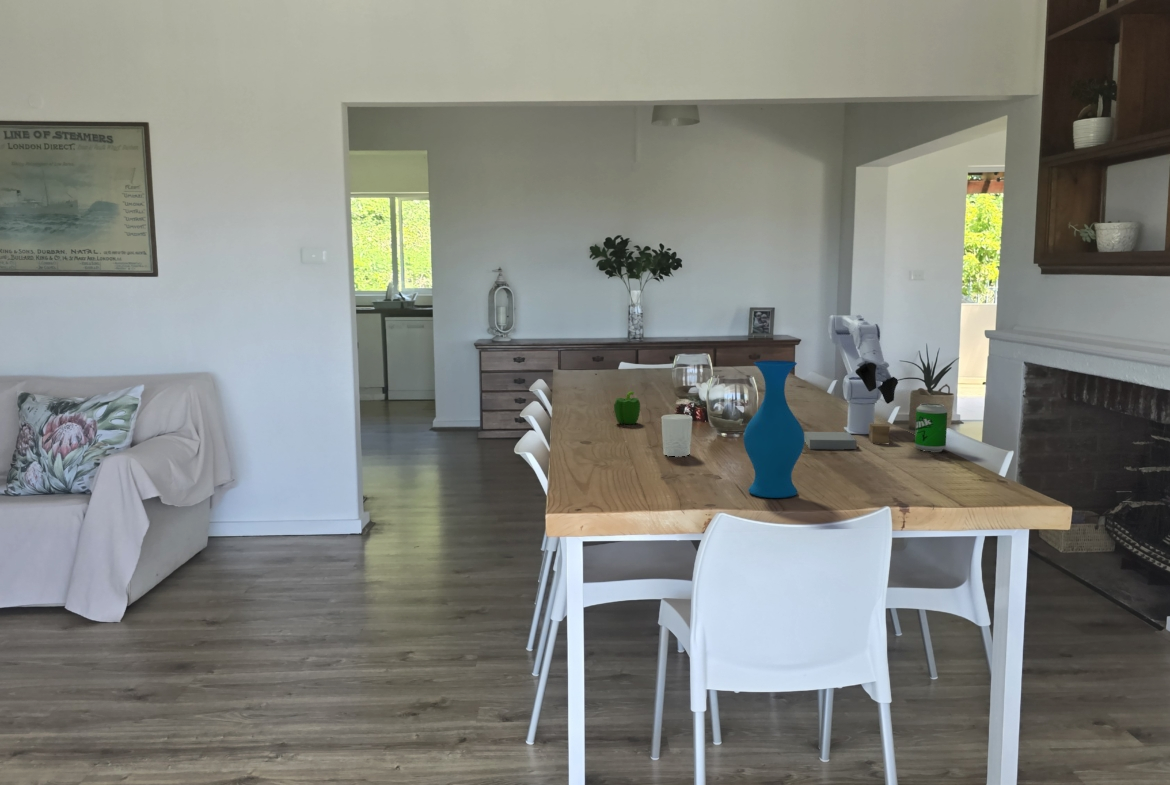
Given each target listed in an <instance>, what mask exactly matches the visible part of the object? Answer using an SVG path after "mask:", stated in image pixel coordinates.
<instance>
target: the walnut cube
mask: <svg viewBox="0 0 1170 785" xmlns="http://www.w3.org/2000/svg"><path fill="white" fill-rule="evenodd" d="M890 427H891V426H890V425H889V424H887V422H886V423H880V422H877V423H876V422H874V423H869V434H868V442H869V441H870V444H872V443H889V444H890Z"/></svg>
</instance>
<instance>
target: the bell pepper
mask: <svg viewBox="0 0 1170 785" xmlns="http://www.w3.org/2000/svg"><path fill="white" fill-rule="evenodd" d="M634 394H635V392H634V391H629V392H627V393H626V397H625V398H623V397H618V398H616V400H615V402H614V404H613V410H614V415H615V419H616V421H617V423H618V424H620V423H621V425H634V424H636V423H637V422H638V420H639V416H640V411H641V402H640V401H639V398H638V397H631V395H634Z"/></svg>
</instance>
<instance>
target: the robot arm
mask: <svg viewBox="0 0 1170 785" xmlns="http://www.w3.org/2000/svg"><path fill="white" fill-rule="evenodd" d="M827 328H828V329H827V330H828V331H827V332H828V335H829V339H830V340H831V343H832V344H833V345H835V346H837V348H838V351H839V353H840V356H841V358H842V361H843V364H844V366H845V369H846V372H847V374H846V375H845V376H844V377H843V381H842V390H843V393H842V394H843V398H844V399H845V401H847V402H848V407H847V426H843V430H844V431H845V432H849V433H850V434H851V435H869V423H875V409H876V408H875V407H876V404H877V402H879V400H880V399H881V398H882V397H883V400H884V402H885V403H886V404H887V405H888V404H890V403H892V402H894V401H895V391H896V387H897V386H898V384H899V381H898V378H896V377H895V376H892V375H891V374H890V372H889V369H888V368H889V367H890V364H889V363H888V362H887V361H885V359H884V354H883V351H882V347H881V343H880V339H881V330H880V329H881V328H880V326H879V324H878V323H875V324H871V323H869V322H868V321H867V320H865V318H864V317H862V315H861V314H857V315H855V314H854V315H834V314H831V315H830V316H829V317H828V322H827ZM858 350H859V351H858Z"/></svg>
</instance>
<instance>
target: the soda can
mask: <svg viewBox="0 0 1170 785" xmlns="http://www.w3.org/2000/svg"><path fill="white" fill-rule="evenodd" d="M915 409H916V411H915V413H916V414H915V436H914V438H915V439H914V440H915V441H914V446H915V447H916V448H917V449H921V450H925V451H931V452H930V453H941V452H943V450H944V449H945V448H947V424H948V409H947V408H946V407H945V405H944V404H943V403H941V404H940V403H933V402H932V403H931V402H930V403H929V402H927V403H926V402H925V403H923V402H922V403H920V404H919V405H918V406H917V407H916V408H915Z"/></svg>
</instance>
